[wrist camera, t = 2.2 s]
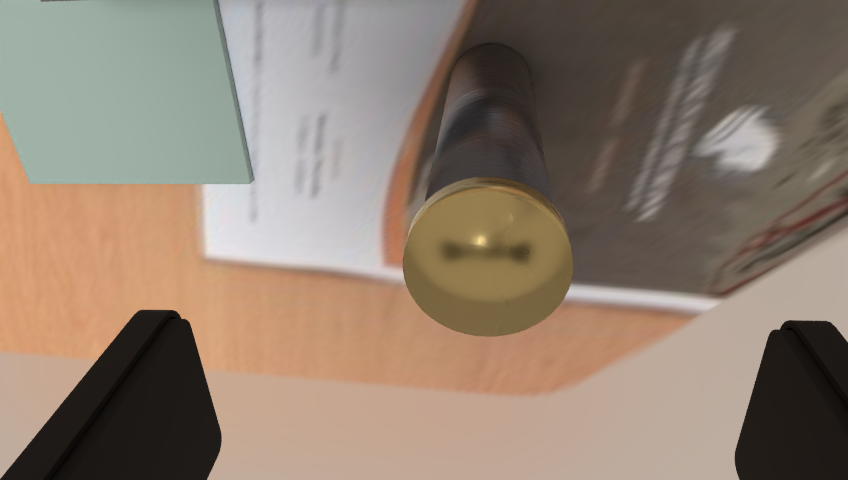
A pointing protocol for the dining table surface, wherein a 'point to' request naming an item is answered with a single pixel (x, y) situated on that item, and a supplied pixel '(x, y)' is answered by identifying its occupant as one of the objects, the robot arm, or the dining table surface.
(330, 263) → the dining table surface
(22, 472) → the robot arm
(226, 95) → the mat
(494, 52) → the grey cylinder
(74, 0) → the block
